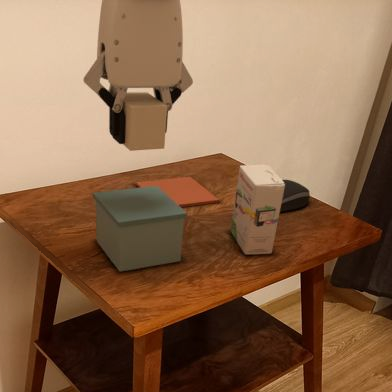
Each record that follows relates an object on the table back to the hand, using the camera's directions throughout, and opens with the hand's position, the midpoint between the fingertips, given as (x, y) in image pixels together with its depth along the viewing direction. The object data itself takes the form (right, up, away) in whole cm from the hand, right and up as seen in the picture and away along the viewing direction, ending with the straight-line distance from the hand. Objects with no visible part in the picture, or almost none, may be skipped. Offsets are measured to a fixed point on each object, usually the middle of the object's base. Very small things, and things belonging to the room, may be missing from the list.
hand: (138, 138), depth 73 cm
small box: (0, 0, 0) cm, 0 cm away
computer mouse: (+25, -1, +31) cm, 39 cm away
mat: (+4, +1, +30) cm, 30 cm away
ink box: (+17, -11, +16) cm, 26 cm away
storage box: (-1, -13, +11) cm, 17 cm away
